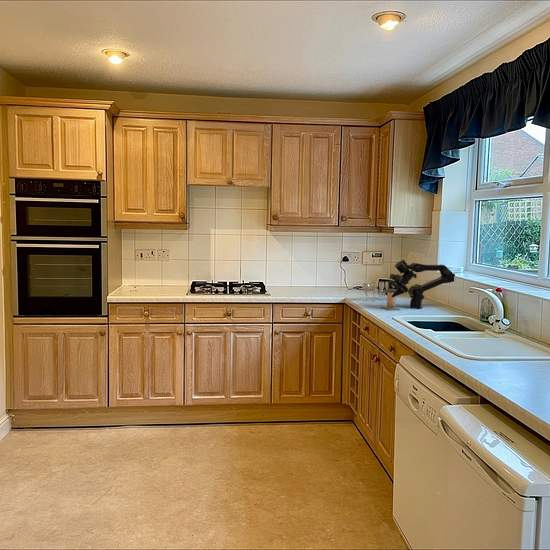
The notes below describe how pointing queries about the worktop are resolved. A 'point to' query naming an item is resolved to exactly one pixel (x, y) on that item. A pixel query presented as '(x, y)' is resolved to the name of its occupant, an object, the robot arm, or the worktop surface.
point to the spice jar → (390, 298)
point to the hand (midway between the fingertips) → (388, 295)
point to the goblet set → (374, 285)
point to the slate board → (390, 308)
